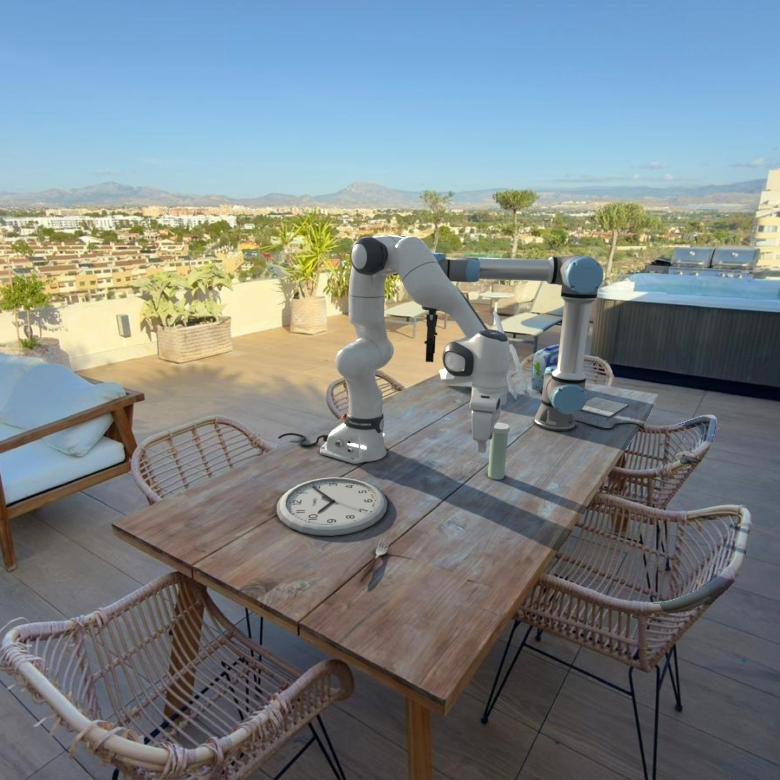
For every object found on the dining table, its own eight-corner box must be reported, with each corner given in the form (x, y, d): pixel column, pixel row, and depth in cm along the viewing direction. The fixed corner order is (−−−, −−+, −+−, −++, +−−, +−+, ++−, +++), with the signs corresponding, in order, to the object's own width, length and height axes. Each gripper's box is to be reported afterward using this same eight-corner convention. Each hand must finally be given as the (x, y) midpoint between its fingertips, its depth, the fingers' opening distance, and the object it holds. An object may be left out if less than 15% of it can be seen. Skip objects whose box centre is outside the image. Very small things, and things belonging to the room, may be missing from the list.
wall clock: (392, 527, 129) (268, 531, 127) (391, 533, 130) (269, 537, 127) (383, 473, 158) (282, 475, 155) (383, 478, 158) (282, 480, 156)
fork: (354, 582, 112) (354, 574, 111) (381, 542, 126) (381, 535, 125) (365, 585, 111) (365, 577, 110) (391, 545, 125) (391, 537, 125)
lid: (510, 428, 159) (510, 423, 158) (508, 435, 154) (508, 430, 153) (491, 426, 160) (492, 421, 160) (488, 432, 155) (489, 427, 155)
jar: (505, 473, 163) (509, 425, 158) (502, 480, 158) (507, 431, 154) (489, 471, 164) (493, 423, 160) (486, 478, 160) (490, 428, 155)
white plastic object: (461, 429, 252) (437, 405, 227) (444, 352, 274) (420, 323, 250) (535, 404, 240) (518, 377, 215) (510, 326, 262) (492, 293, 237)
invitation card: (608, 416, 214) (573, 407, 224) (608, 416, 214) (573, 408, 224) (628, 404, 229) (594, 396, 238) (628, 405, 229) (594, 397, 238)
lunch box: (547, 397, 237) (552, 352, 231) (526, 391, 245) (531, 348, 238) (574, 386, 255) (580, 344, 249) (554, 381, 262) (559, 340, 256)
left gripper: (484, 382, 143) (481, 429, 147) (468, 404, 125) (465, 458, 129) (507, 385, 141) (503, 432, 145) (494, 408, 123) (490, 462, 127)
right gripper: (424, 293, 195) (422, 349, 202) (419, 302, 172) (417, 365, 178) (444, 294, 195) (441, 350, 201) (442, 303, 171) (439, 366, 177)
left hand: (485, 444), depth 137 cm, fingers open, 8 cm apart
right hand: (430, 357), depth 190 cm, fingers open, 13 cm apart
